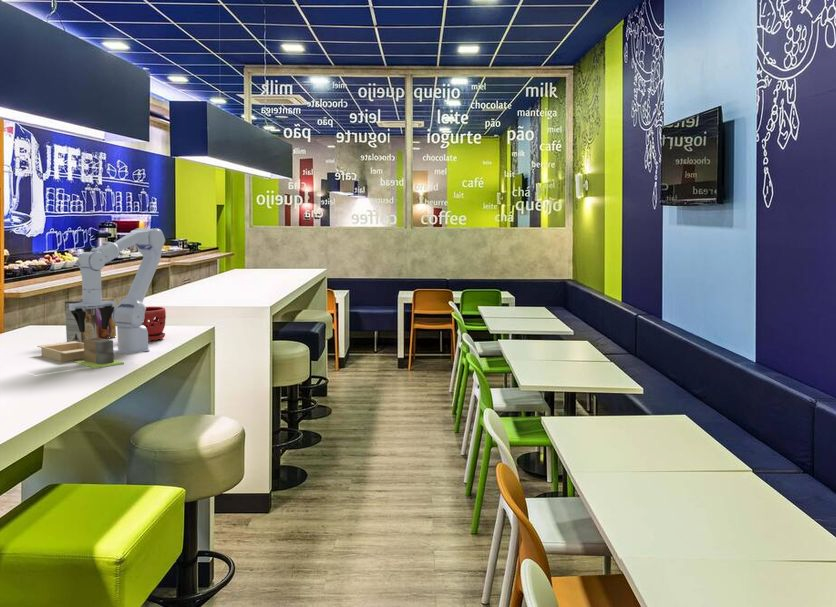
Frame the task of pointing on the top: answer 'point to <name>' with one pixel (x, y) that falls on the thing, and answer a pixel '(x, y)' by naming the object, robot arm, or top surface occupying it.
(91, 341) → the box
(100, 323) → the candy box
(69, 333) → the coffee box
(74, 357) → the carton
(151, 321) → the plant pot
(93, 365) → the mat
